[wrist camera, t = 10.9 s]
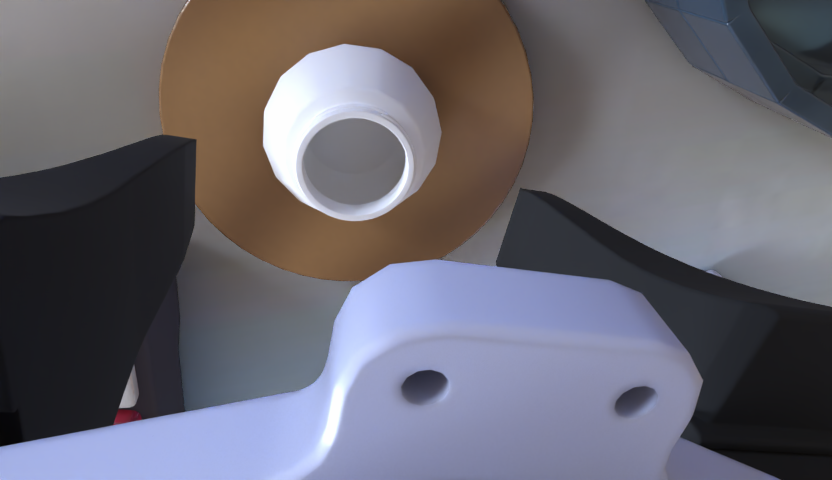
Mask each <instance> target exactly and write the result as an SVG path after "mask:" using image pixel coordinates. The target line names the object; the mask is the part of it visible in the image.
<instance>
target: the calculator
mask: <svg viewBox="0 0 832 480" xmlns="http://www.w3.org/2000/svg"><path fill="white" fill-rule="evenodd" d="M179 325H180V313H179V302H178V292H177V281H176V277H175V279H174V281H173V283H172V285H171V287H170V289H169V291H168V293H167V295H166V297H165V299H164V301H163V303H162V305H161V307H160V309H159V310H158V312H157V314H156V316H155V318H154V320H153V322H152V324H151V326H150V328H149V330H148V332H147V334H146V336H145V338H144V341H143V343H142V345H141V348H140V350H139V352H138V355H137V357H136V360H135V363H134V366H133V369H132V371H131V374H130V377H129V380H128V383H127V386H126V388H125V391H124V394H123V397H122V400H121V403H120V406H119V409H118V412H117V415H116V418H115V421H114V424H113V425H118V424H123V423H128V422H133V421H139V420H144V419H149V418H155V417H160V416H165V415H170V414H176V413H181V412H185V408H184V398H183V389H182V380H181V370H180V361H179V351H178V343H179Z"/></svg>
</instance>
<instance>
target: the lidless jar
mask: <svg viewBox="0 0 832 480" xmlns="http://www.w3.org/2000/svg"><path fill="white" fill-rule="evenodd" d="M441 133H442V131H441V127H440V122H439V118H438V113H437V109H436V104H435V100H434V98H433V96H432V94H431V93H430V92H429V90H428V89H427V87H426V86H425V85H424V83H423V82H422V80H421V79H420V78H419V76H418V75H417V74H416V72H415V71H414V69H413V68H412V67H410V66H409V65H407V64H405V63H404V62H402V61H400V60H399V59H397V58H395V57H394V56H392V55H390V54H389V53H387V52H385V51H384V50H382V49H378V48H370V47H363V46H356V45H349V44H342V45H338V46H335V47H331V48H327V49H324V50H320V51H316V52H313V53H309V54H308V55H306V56H305V57H304V58H303V59H301V60H300V61H299V62H298V63H297V64H295V65H294V66H293V67H292V68H290V69H289V70H288V71H287V72H286V73H284V74H283V75H282V76H281V77H280V79H279V81H278V83H277V85H276V87H275V89H274V91H273V93H272V95H271V97H270V99H269V101H268V103H267V105H266V107H265V110H264V129H263V147H264V149H265V152H266V154H267V157H268V159H269V162H270V164H271V167H272V169H273V171H274V174H275V176H276V178H277V179H278V180H279V181H280V182H281V183H282V184H283V185H284V186H285V187H286V188H287V189H288V190H289V191H290V192H291V193H292V194H293V195H294V196H295V197H296V198H297V199H298V200H299V201H301V202H303V203H305V204H307V205H309V206H311V207H313V208H315V209H317V210H319V211H321V212H323V213H325V214H327V215H329V216H331V217H334V218H337V219H341V220H347V221H364V220H369V219H373V218H376V217H379V216H381V215H383V214H385V213H387V212H389V211H390V210H392V209H393V208H394V207H396V206H397V205H398V204H400V203H401V202H403V201H404V200H405V199H407V198H408V197H410V196H411V195H412V194H414V193H415V192H417V191H418V190H419V188H420V187H421V185H422V184H423V182H424V181H425V179H426V178H427V176H428V175H429V173H430V172H431V170H432V168H433V167H434V165H435V164H436V159H437V154H438V148H439V143H440V138H441Z"/></svg>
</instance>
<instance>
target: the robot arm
mask: <svg viewBox="0 0 832 480" xmlns="http://www.w3.org/2000/svg"><path fill="white" fill-rule="evenodd" d="M196 142H197V139H192V138H185V137H178V136H172V135H159V136H155V137H151V138H148V139H145V140H142V141H139V142H136V143H133V144H130V145H127V146H124V147H121V148H119V149H116V150H113V151H110V152H107V153H104V154H101V155H97V156H94V157H91V158H87V159H84V160H80V161H77V162H74V163H70V164H67V165H63V166H59V167H55V168H51V169H46V170H42V171H37V172H31V173H26V174H21V175H15V176H9V177H3V178H0V480H832V307H830V306H825V305H820V304H815V303H811V302H806V301H801V300H797V299H793V298H789V297H785V296H782V295H778V294H774V293H771V292H767V291H763V290H759V289H756V288H753V287H750V286H746V285H743V284H740V283H737V282H734V281H731V280H728V279H725V278H723V277H722V276H721V275H720V274H719V273H718V272H716V271H715V270H709V271H703V270H700V269H697V268H695V267H692V266H690V265H687V264H685V263H683V262H681V261H678V260H676V259H674V258H671V257H669V256H667V255H664V254H662V253H660V252H658V251H656V250H654V249H652V248H650V247H648V246H646V245H644V244H642V243H640V242H638V241H636V240H634V239H632V238H630V237H629V236H627V235H625V234H623V233H621V232H619V231H618V230H616V229H614V228H612V227H611V226H609V225H607V224H605V223H604V222H602V221H600V220H598V219H597V218H595V217H593V216H592V215H590V214H588V213H586V212H585V211H583V210H581V209H579V208H578V207H576V206H574V205H572V204H571V203H569V202H567V201H565V200H563V199H561V198H559V197H557V196H555V195H552V194H549V193H546V192H542V191H535V190H528V189H522V188H520V191H519V194H518V197H517V200H516V203H515V206H514V209H513V212H512V215H511V218H510V221H509V224H508V227H507V230H506V233H505V236H504V239H503V242H502V245H501V248H500V251H499V254H498V257H497V260H496V265H497V267H496V266H487V265H479V264H470V263H462V262H454V261H445V260H437V259H434V260H425V261H415V262H406V263H397V264H389V265H388V266H386V267H385V268H383V269H381V270H380V271H378V272H377V273H375V274H373V275H372V276H370V277H368V278H367V279H365V280H364V281H362V282H360V283H359V284H357V285H355V286H354V287H352V289H351V291H350V293H349V295H348V297H347V298H346V300H345V302H344V304H343V306H342V308H341V310H340V311H339V313H338V315H337V317H336V319H335V321H334V326H333V332H332V337H331V343H330V348H329V354H328V359H327V361H326V364H325V367H324V370H323V372H322V374H321V375H320V377H319V378H318V379H317V380H316V382H315V383H313V384H312V385H310V386H308V387H306V388H304V389H302V390H297V391H292V392H287V393H281V394H276V395H271V396H265V397H260V398H255V399H250V400H244V401H239V402H234V403H229V404H223V405H218V406H213V407H207V408H202V409H197V410H192V411H186V412H181V413H176V414H170V415H165V416H160V417H155V418H149V419H144V420H139V421H133V422H128V423H123V424H118V425H113V424H114V421H115V418H116V415H117V412H118V409H119V406H120V403H121V400H122V397H123V394H124V391H125V388H126V386H127V383H128V380H129V377H130V374H131V371H132V369H133V366H134V363H135V360H136V357H137V355H138V352H139V350H140V348H141V345H142V343H143V341H144V338H145V336H146V334H147V332H148V330H149V328H150V326H151V324H152V322H153V320H154V318H155V316H156V314H157V312H158V310H159V309H160V307H161V305H162V303H163V301H164V299H165V297H166V295H167V293H168V291H169V289H170V287H171V285H172V283H173V281H174V279H175V277H176V275H177V273H178V271H179V269H180V267H181V265H182V263H183V260H184V257H185V254H186V251H187V248H188V245H189V242H190V238H191V235H192V232H193V228H194V221H195V181H196Z"/></svg>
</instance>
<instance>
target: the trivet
mask: <svg viewBox="0 0 832 480" xmlns="http://www.w3.org/2000/svg"><path fill="white" fill-rule="evenodd" d="M342 44H349V45H356V46H363V47H370V48H378V49H382V50H384V51H385V52H387V53H389V54H390V55H392V56H394V57H395V58H397V59H399V60H400V61H402V62H404V63H405V64H407V65H409V66H410V67H412V68H413V69H414V71H415V72H416V74H417V75H418V76H419V78H420V79H421V80H422V82H423V83H424V85H425V86H426V87H427V89H428V90H429V92H430V93H431V94H432V96H433V98H434V100H435V104H436V109H437V113H438V118H439V122H440V127H441V131H442V133H441V138H440V143H439V148H438V154H437V159H436V164H435V165H434V167H433V168H432V170H431V172H430V173H429V175H428V176H427V178H426V179H425V181H424V182H423V184H422V185H421V187H420V188H419V190H418V191H417V192H415V193H414V194H412V195H411V196H410V197H408V198H407V199H405V200H404V201H403V202H401V203H400V204H398V205H397V206H396V207H394V208H393V209H392V210H390V211H389V212H387V213H385V214H383V215H381V216H379V217H376V218H373V219H369V220H364V221H347V220H341V219H337V218H334V217H331V216H329V215H327V214H325V213H323V212H321V211H319V210H317V209H315V208H313V207H311V206H309V205H307V204H305V203H303V202H301V201H299V200H298V199H297V198H296V197H295V196H294V195H293V194H292V193H291V192H290V191H289V190H288V189H287V188H286V187H285V186H284V185H283V184H282V183H281V182H280V181H279V180H278V179H277V178H276V176H275V174H274V171H273V169H272V167H271V164H270V162H269V159H268V157H267V154H266V152H265V149H264V147H263V129H264V110H265V107H266V105H267V103H268V101H269V99H270V97H271V95H272V93H273V91H274V89H275V87H276V85H277V83H278V81H279V79H280V77H281V76H282V75H283V74H284V73H286V72H287V71H288V70H289V69H290V68H292V67H293V66H294V65H295V64H297V63H298V62H299V61H300V60H301V59H303V58H304V57H305V56H306V55H308V54H309V53H313V52H316V51H320V50H324V49H327V48H331V47H335V46H338V45H342ZM159 109H160V119H161V125H162V130H163V135H172V136H178V137H185V138H192V139H197V142H196V181H195V204H196V206H197V207H198V208H199V209H200V210H201V212H202V213H203V214H204V215H205V216H206V218H207V219H208V220H209V221H210V222H211V223H212V224H213V225H214V226H215V227H216V228H217V229H218V230H219V231H220V232H222V233H223V234H224V235H225V236H226V237H227V238H229V239H230V240H231V241H233V242H234V243H235V244H237V245H238V246H239V247H241V248H242V249H243V250H245V251H247V252H249V253H250V254H252V255H254V256H255V257H257V258H259V259H261V260H262V261H265V262H267V263H269V264H272V265H274V266H276V267H278V268H281V269H283V270H287V271H290V272H293V273H296V274H300V275H303V276H308V277H313V278H318V279H324V280H336V281H364V280H365V279H367V278H368V277H370V276H372V275H373V274H375V273H377V272H378V271H380V270H381V269H383V268H385V267H386V266H388V265H389V264H397V263H406V262H415V261H425V260H434V259H437V260H438V259H440V258H442V257H444V256H445V255H447V254H448V253H450V252H452V251H453V250H455V249H456V248H458V247H459V246H461V245H462V244H463V243H464V242H466V241H467V240H468V239H469V238H471V237H472V236H473V235H474V234H476V233H477V232H478V231H479V229H480V228H481V227H482V226H483V225H484V224H485V223H486V222H487V221H488V220H489V219H490V218H491V217H492V216H493V214H494V213H495V212H496V210H497V209H498V208H499V207H500V205H501V204H502V203H503V201H504V199H505V198H506V196H507V194H508V193H509V191H510V189H511V188H512V186H513V184H514V182H515V180H516V178H517V176H518V173H519V171H520V169H521V167H522V164H523V161H524V158H525V154H526V151H527V148H528V144H529V140H530V134H531V128H532V122H533V87H532V77H531V71H530V67H529V63H528V58H527V54H526V50H525V48H524V45H523V42H522V40H521V37H520V35H519V32H518V29H517V27H516V25H515V23H514V22H513V20H512V18H511V16H510V14H509V13H508V11H507V9H506V7H505V5H504V4H503V3H502V1H501V0H187V2H186V4H185V5H184V7H183V8H182V10H181V12H180V13H179V15H178V17H177V20H176V22H175V24H174V27H173V29H172V31H171V33H170V36H169V38H168V41H167V45H166V49H165V53H164V57H163V61H162V65H161V74H160V83H159Z"/></svg>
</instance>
